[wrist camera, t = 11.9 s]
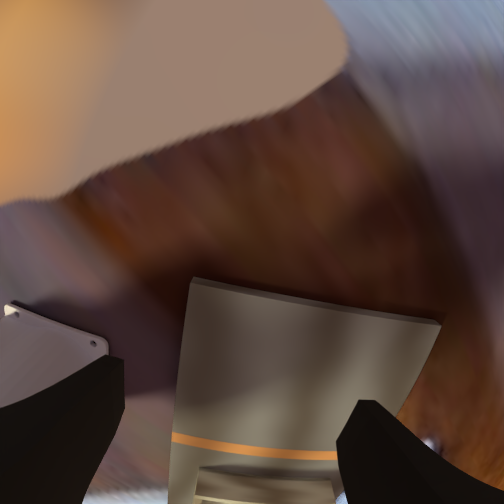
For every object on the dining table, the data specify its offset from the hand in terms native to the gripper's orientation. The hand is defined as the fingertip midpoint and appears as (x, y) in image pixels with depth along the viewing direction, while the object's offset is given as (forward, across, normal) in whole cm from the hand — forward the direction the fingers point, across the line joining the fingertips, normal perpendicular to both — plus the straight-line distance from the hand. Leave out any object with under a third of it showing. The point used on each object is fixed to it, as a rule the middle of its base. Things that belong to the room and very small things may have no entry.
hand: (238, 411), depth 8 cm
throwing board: (+9, -5, +14) cm, 18 cm away
